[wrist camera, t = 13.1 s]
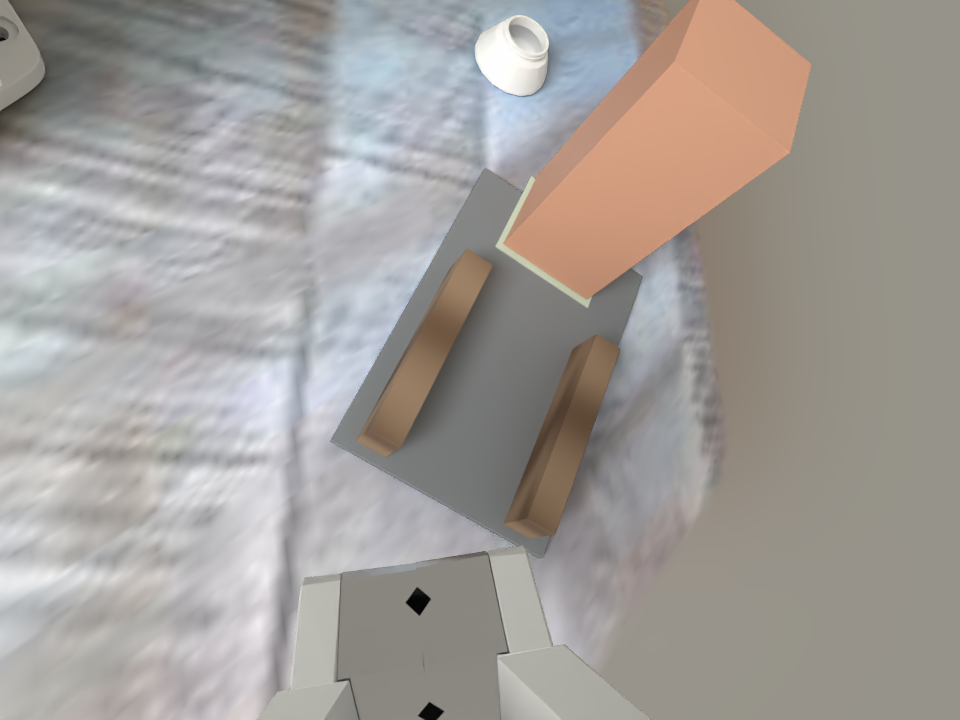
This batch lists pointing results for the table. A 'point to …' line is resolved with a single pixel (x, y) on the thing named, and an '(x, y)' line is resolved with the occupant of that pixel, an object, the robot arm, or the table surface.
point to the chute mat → (487, 367)
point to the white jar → (514, 55)
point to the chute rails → (562, 426)
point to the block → (664, 146)
